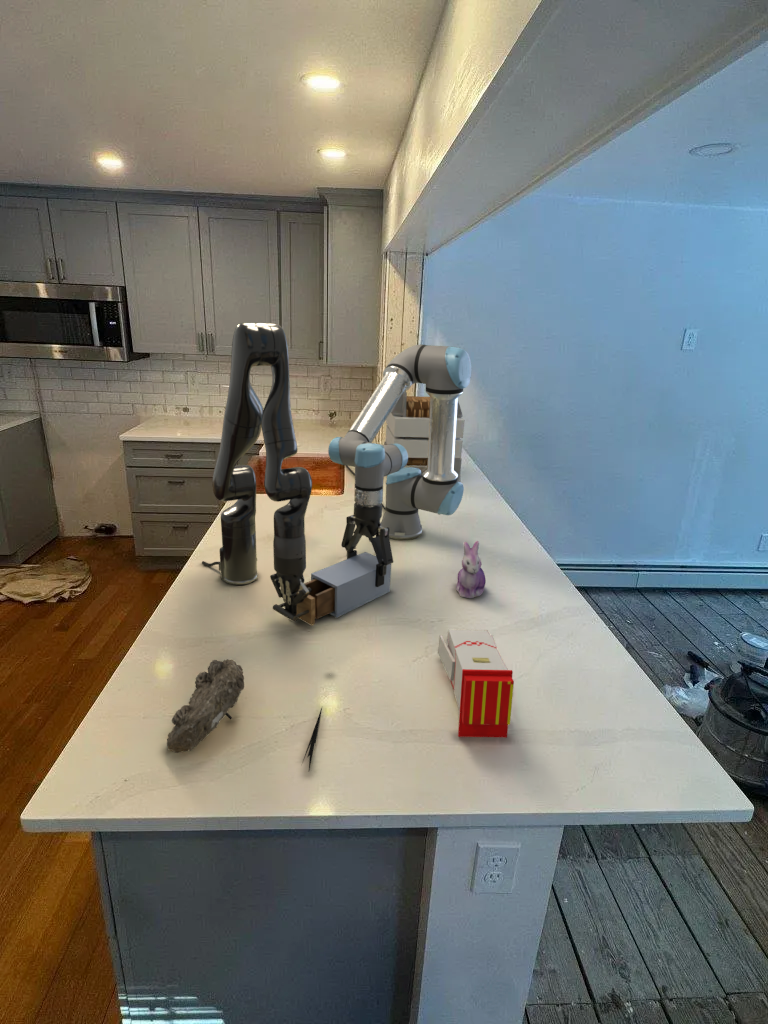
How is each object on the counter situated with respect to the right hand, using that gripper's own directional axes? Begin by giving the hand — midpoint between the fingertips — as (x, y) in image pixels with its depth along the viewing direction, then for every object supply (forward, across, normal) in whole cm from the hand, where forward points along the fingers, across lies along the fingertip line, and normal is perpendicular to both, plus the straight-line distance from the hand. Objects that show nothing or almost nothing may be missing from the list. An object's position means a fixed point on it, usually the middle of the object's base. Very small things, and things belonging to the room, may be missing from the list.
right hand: (365, 578), depth 157 cm
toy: (+4, +46, -16) cm, 49 cm away
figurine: (+4, +21, +22) cm, 30 cm away
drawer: (+3, 0, -17) cm, 17 cm away
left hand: (+1, 0, -26) cm, 26 cm away
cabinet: (+4, 0, -5) cm, 7 cm away
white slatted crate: (+4, -66, +107) cm, 126 cm away
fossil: (+4, +15, -58) cm, 60 cm away
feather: (+4, +30, -44) cm, 53 cm away
